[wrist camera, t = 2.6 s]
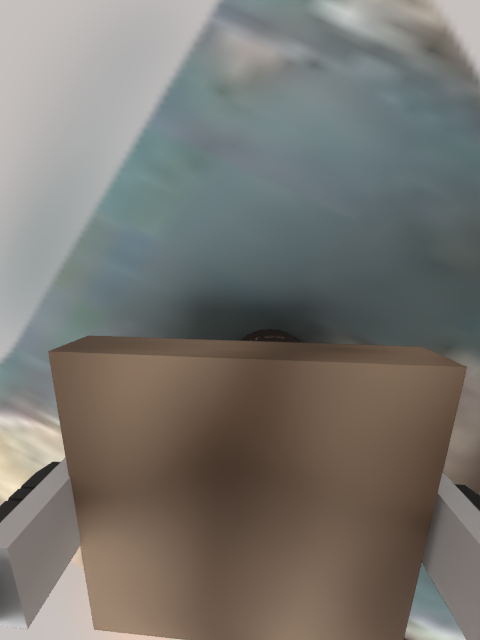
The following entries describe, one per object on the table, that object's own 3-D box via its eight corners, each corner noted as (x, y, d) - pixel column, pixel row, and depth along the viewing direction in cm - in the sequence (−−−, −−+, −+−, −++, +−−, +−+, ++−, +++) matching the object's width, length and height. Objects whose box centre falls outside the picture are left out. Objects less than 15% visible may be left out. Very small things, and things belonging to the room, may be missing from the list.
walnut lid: (422, 346, 7) (466, 367, 6) (375, 599, 10) (398, 663, 8) (88, 335, 8) (48, 351, 7) (118, 575, 10) (94, 629, 9)
